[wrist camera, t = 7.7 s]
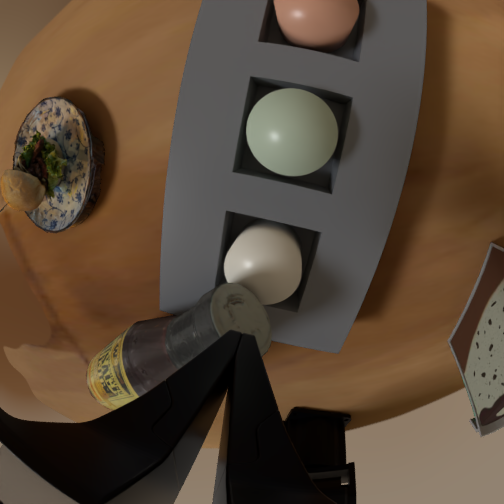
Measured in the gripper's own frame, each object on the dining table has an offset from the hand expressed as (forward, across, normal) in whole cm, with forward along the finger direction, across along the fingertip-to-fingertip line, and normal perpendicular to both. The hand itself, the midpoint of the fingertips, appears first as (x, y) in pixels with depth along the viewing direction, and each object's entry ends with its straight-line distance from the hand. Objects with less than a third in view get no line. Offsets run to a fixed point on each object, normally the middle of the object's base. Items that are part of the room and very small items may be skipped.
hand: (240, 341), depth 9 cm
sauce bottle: (+6, +12, +18) cm, 22 cm away
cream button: (+9, 0, 0) cm, 9 cm away
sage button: (+8, 0, -7) cm, 11 cm away
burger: (+10, +19, -3) cm, 22 cm away
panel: (+10, 0, -7) cm, 12 cm away
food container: (+10, -20, 0) cm, 22 cm away
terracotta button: (+8, 0, -14) cm, 16 cm away
